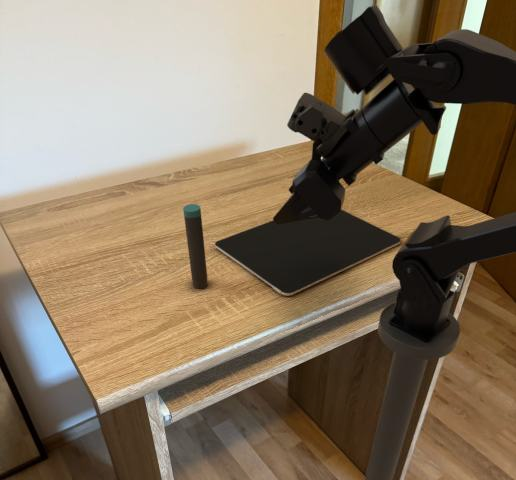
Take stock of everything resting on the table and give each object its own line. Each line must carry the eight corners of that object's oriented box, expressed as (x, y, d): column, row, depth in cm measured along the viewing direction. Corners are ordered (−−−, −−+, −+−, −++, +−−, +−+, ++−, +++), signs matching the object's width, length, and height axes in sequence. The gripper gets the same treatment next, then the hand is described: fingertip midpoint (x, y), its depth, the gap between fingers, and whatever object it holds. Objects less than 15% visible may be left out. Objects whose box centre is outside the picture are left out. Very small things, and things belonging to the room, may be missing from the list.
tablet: (286, 295, 73) (211, 243, 85) (285, 299, 73) (211, 246, 85) (403, 239, 85) (324, 201, 97) (402, 243, 85) (323, 204, 97)
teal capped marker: (211, 284, 76) (203, 207, 68) (199, 291, 75) (190, 213, 67) (201, 279, 78) (193, 202, 69) (189, 285, 76) (179, 207, 68)
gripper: (344, 53, 61) (260, 137, 71) (318, 92, 48) (219, 189, 57) (397, 123, 65) (311, 194, 74) (386, 178, 51) (282, 256, 61)
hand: (283, 206), depth 67 cm, fingers open, 9 cm apart
